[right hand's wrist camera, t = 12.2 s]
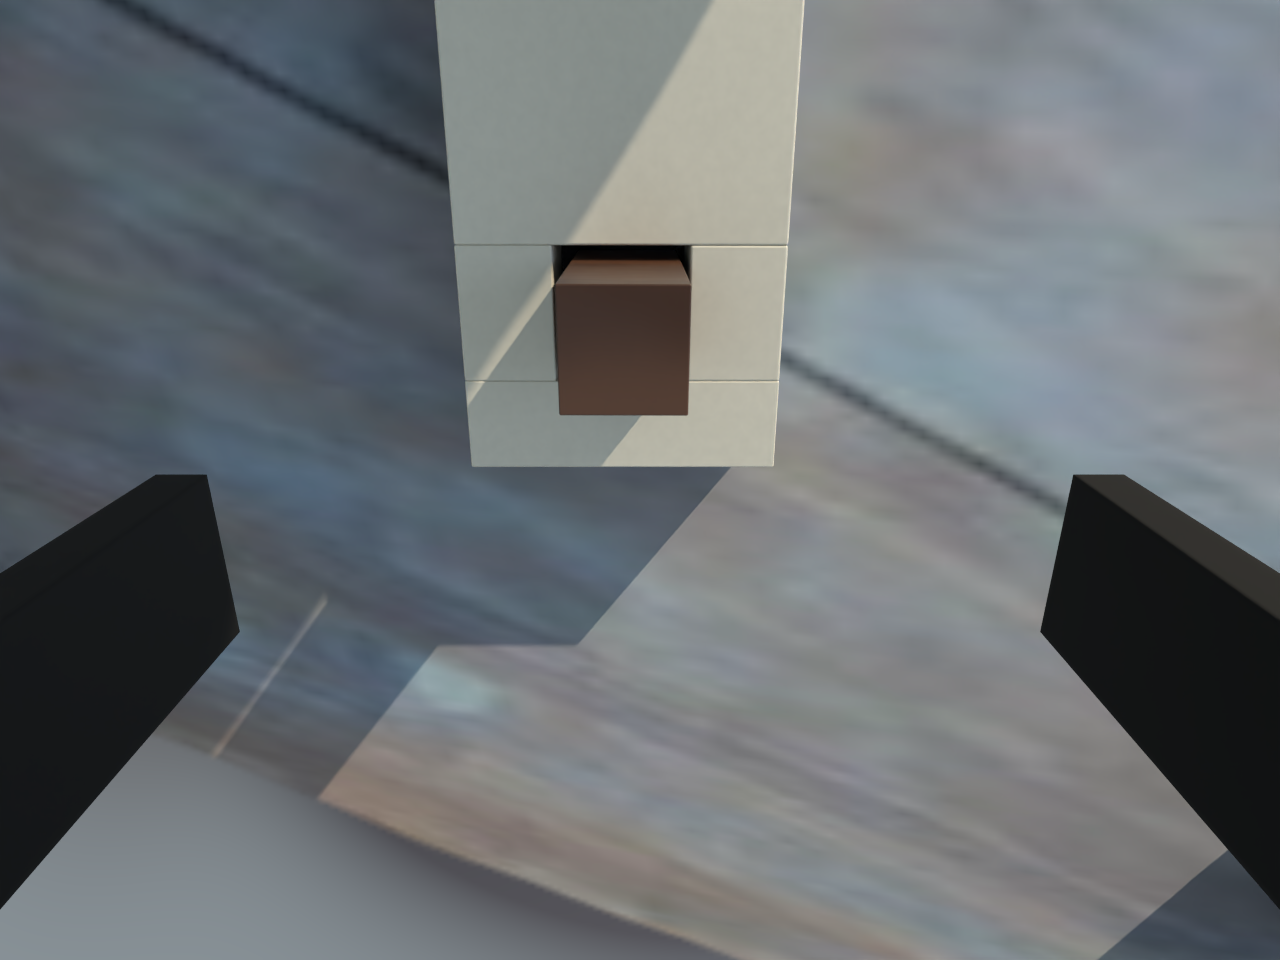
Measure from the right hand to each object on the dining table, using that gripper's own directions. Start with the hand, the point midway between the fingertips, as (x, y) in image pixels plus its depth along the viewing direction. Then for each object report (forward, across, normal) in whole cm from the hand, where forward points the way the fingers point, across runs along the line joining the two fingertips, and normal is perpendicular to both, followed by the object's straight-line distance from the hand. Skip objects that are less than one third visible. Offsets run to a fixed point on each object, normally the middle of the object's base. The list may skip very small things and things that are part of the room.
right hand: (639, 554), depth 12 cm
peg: (+23, 0, 0) cm, 23 cm away
